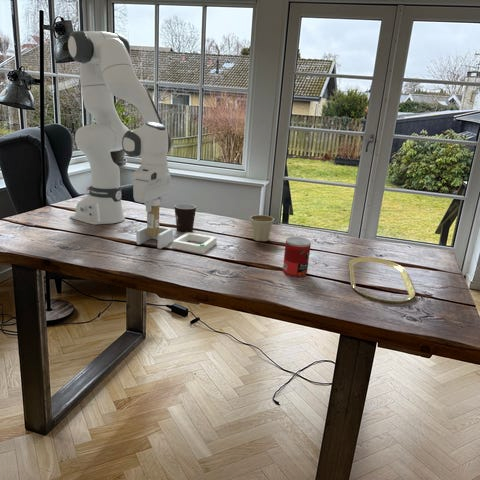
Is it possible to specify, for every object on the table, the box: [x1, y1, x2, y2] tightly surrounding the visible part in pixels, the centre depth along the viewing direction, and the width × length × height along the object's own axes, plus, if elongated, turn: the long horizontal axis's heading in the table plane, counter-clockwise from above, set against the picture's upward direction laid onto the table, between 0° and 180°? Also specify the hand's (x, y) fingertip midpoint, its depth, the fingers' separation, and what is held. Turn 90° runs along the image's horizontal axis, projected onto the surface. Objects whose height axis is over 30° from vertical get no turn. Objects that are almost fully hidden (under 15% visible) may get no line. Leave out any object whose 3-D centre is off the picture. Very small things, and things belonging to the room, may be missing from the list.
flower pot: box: [249, 214, 275, 242], centre depth 166 cm, size 9×9×9 cm
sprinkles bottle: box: [146, 198, 160, 237], centre depth 152 cm, size 5×5×14 cm
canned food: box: [282, 236, 312, 278], centre depth 135 cm, size 8×8×11 cm
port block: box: [171, 232, 218, 254], centre depth 154 cm, size 12×12×3 cm
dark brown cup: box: [173, 203, 197, 234], centre depth 171 cm, size 12×9×10 cm
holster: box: [135, 225, 174, 249], centre depth 154 cm, size 10×9×5 cm
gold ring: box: [348, 256, 416, 304], centre depth 136 cm, size 19×35×2 cm, turn 168°
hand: (153, 209), depth 151 cm, fingers closed on sprinkles bottle, 4 cm apart
